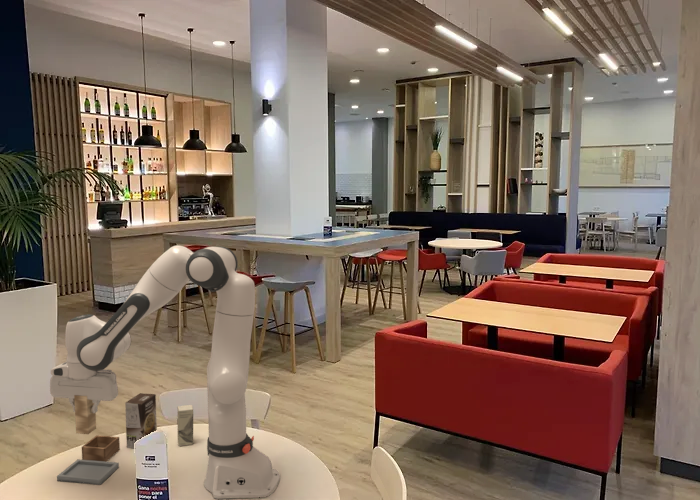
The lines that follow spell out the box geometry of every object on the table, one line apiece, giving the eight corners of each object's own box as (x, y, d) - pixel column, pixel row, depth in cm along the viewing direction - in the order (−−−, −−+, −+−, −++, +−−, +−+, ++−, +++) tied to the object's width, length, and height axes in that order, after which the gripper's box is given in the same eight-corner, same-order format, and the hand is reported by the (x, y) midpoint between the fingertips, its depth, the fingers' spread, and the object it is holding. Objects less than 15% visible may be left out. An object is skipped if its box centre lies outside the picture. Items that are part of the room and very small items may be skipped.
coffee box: (143, 449, 181) (141, 404, 179) (126, 447, 182) (124, 402, 180) (157, 437, 190) (156, 393, 188) (141, 435, 191) (139, 392, 189)
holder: (119, 449, 181) (119, 437, 180) (105, 462, 173) (105, 448, 172) (97, 447, 182) (96, 435, 181) (82, 460, 174) (81, 447, 173)
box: (178, 446, 183) (177, 411, 181) (177, 441, 187) (176, 406, 185) (194, 444, 185) (193, 408, 183) (193, 438, 189) (192, 403, 187)
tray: (118, 467, 169) (118, 462, 169) (100, 484, 160) (100, 479, 159) (77, 463, 171) (77, 459, 171) (57, 481, 161) (56, 476, 161)
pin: (96, 428, 165) (94, 391, 164) (88, 434, 161) (86, 396, 160) (84, 427, 166) (82, 390, 164) (76, 433, 162) (74, 395, 160)
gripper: (121, 366, 163) (123, 409, 165) (59, 362, 165) (61, 405, 167) (109, 373, 157) (111, 418, 158) (45, 369, 159) (47, 413, 161)
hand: (85, 411), depth 163 cm, fingers closed on pin, 4 cm apart
